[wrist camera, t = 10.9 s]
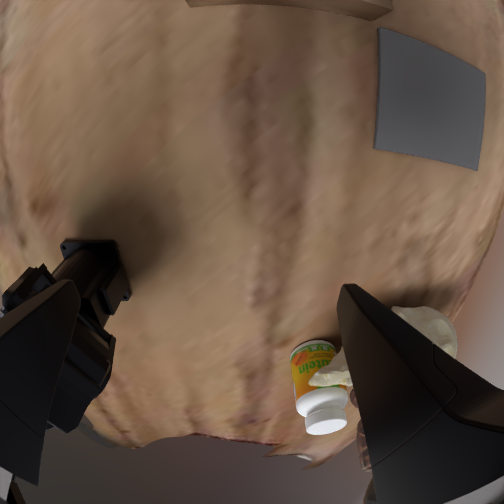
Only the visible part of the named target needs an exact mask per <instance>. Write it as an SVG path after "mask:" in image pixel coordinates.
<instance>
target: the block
mask: <svg viewBox="0 0 504 504" xmlns="http://www.w3.org/2000/svg"><path fill="white" fill-rule="evenodd" d="M186 2H187V4H188V5H189V7H199V6H211V5H228V4H265V5H282V6H294V7H303V8H310V9H317V10H324V11H329V12H335V13H340V14H345V15H349V16H354V17H358V18H362V19H366V20H369V21H373V20H374V19H376V18H378V17H380V16H382V15H384V14H386V13H388V12H390V11H392V10H393V6H392V0H186Z"/></svg>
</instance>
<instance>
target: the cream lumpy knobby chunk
mask: <svg viewBox="0 0 504 504" xmlns="http://www.w3.org/2000/svg"><path fill="white" fill-rule="evenodd" d="M391 310H392V311H393V312H395V313H396V314H397V315H399V316H400V317H401V318H402V319H404V320H405V321H406V322H408V323H409V324H410V325H412V326H413V327H414V328H416V329H417V330H418V331H419V332H421V333H422V334H423V335H425V336H426V337H427V338H428V339H430V340H431V341H432V342H433V344H434V343H435V344H436V345H437V346H439V347H440V348H441V349H443V350H444V351H445V352H446V353H448V354H449V355H450V356H452V357H453V358H454V359H455V358H456V353H457V347H458V344H457V335H456V332H455V328H454V326H453V325H452V324H451V322H450V321H449V319H448V317H447V316H445V315H442V314H441V313H440V312H439V311H437V310H435V309H432V308H430V307H425V306H421V307H415V308H409V307H407V308H402V307H398V306H393V307H392V308H391ZM308 383H309V385H310V386H332V385H337V384H342V385H346V386H353V384H352V380H351V377H350V373H349V369H348V366H347V362H346V358H345V354H344V350H343V346H342V348H341V350H340V352H339V353H338V354H337V355H336V356H335V357H333V359H332V360H331V362H330V364H329V365H327V366H325V367H323V368H321V369H319V370H318V371H317V372H316V373H315V374H314V375H313V376H312V377H311V378H310V379H309V382H308Z"/></svg>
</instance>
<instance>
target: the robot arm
mask: <svg viewBox="0 0 504 504" xmlns="http://www.w3.org/2000/svg"><path fill="white" fill-rule="evenodd" d="M110 245H112V247H113V248H112V247H110ZM60 248H61V251H62V254H63V257H64V260H63V261H62V262H61V263H60V265H59V266H58V267H57V268H56V269H55V270H54V271H53V273H52V274H51V273H50V272H49V271H48V270H47V267H46V266H45V265H44V263H43V264H42V265H41V266H40V267H39V268H37V267H36V268H35V269H34V268H31V267H29V268H28V269H27V270H26V271H25V272H24V273H23V274H22V275H21V276H20V277H19V278H18V279H17V280H16V281H15V282H14V283H13V284H12V285H11V286H10V287H9V288H8V289H7V290H6V291H5V292H4V294H3V295H2V304H3V307H2V308H1V310H0V311H1V312H2V313H1V314H0V504H26V503H25V501H24V499H23V497H22V494H21V492H20V490H19V488H18V485H17V483H15V481H16V479H17V477H19V478H21V479H23V480H25V481H27V482H29V483H31V484H33V485H35V486H37V487H38V483H39V474H40V464H41V457H42V450H43V444H44V436H45V432H46V431H49V430H52V429H54V428H57V429H59V430H61V431H62V432H64V433H68V432H70V431H72V430H73V429H75V428H76V427H77V426H78V425H79V423H80V420H81V418H82V416H83V414H84V412H85V410H86V409H87V407H88V405H89V404H90V403H91V401H92V400H93V399H94V398H96V397H97V396H98V395H99V394H100V393H101V392H102V391H103V390H104V388H105V386H106V385H107V383H108V381H109V379H110V376H111V372H112V364H113V357H114V349H115V343H116V338H115V337H114V336H113V335H112V334H111V335H110V334H109V333H108V332H107V331H106V330H105V329H103V328H104V326H105V324H106V322H107V320H108V318H109V316H110V315H114V314H115V312H116V310H117V308H118V306H119V304H120V302H121V301H128V300H129V299H130V297H131V295H130V291H129V288H128V287H129V284H128V281H127V277H126V274H125V270H124V266H123V264H122V263H121V259H120V256H119V252H118V248H117V244H116V242H115V241H113V240H85V241H63V242H62V243H61V244H60ZM125 295H126V296H125ZM337 314H338V320H339V326H340V332H341V338H342V344H343V350H344V354H345V358H346V362H347V366H348V369H349V373H350V377H351V380H352V384H353V388H354V392H355V396H356V400H357V404H358V408H359V412H360V417H361V421H362V425H363V430H364V434H365V439H366V444H367V448H368V453H369V458H370V463H371V469H372V475H373V480H374V486H375V492H376V498H377V504H504V390H501V389H499V388H497V387H495V386H494V385H492V384H491V383H489V382H488V381H486V380H485V379H483V378H482V377H480V376H479V375H477V374H476V373H474V372H473V371H472V370H470V369H469V368H467V367H465V366H464V365H463V364H461V363H460V362H458V361H457V360H456V359H454V358H453V357H452V356H450V355H449V354H448V353H446V352H445V351H444V350H443V349H441V348H440V347H439V346H437V345H436V344H435V343H434V344H433V342H432V341H431V340H430V339H428V338H427V337H426V336H425V335H423V334H422V333H421V332H419V331H418V330H417V329H416V328H414V327H413V326H412V325H410V324H409V323H408V322H406V321H405V320H404V319H402V318H401V317H400V316H399V315H397V314H396V313H395V312H393V311H392V310H391V309H389V308H388V307H387V306H385V305H384V304H382V303H381V302H380V301H378V300H377V299H376V298H374V297H373V296H372V295H370V294H369V293H368V292H366V291H365V290H363V289H362V288H361V287H359V286H358V285H357V284H343V285H342V287H341V291H340V295H339V298H338V302H337Z"/></svg>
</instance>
